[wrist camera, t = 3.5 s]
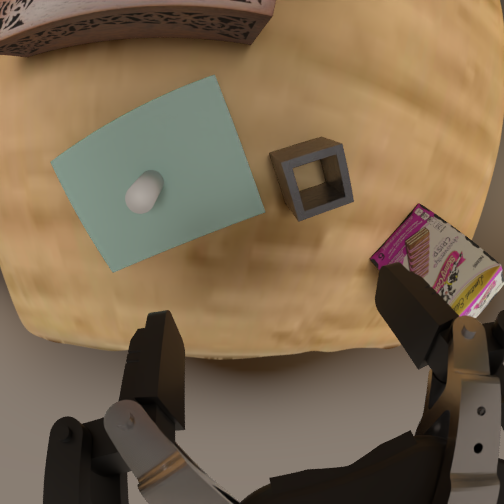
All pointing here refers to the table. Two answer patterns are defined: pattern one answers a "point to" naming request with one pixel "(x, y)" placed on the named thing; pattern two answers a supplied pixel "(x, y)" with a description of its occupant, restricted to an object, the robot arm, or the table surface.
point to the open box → (320, 195)
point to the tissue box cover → (125, 21)
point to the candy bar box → (443, 261)
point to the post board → (181, 160)
